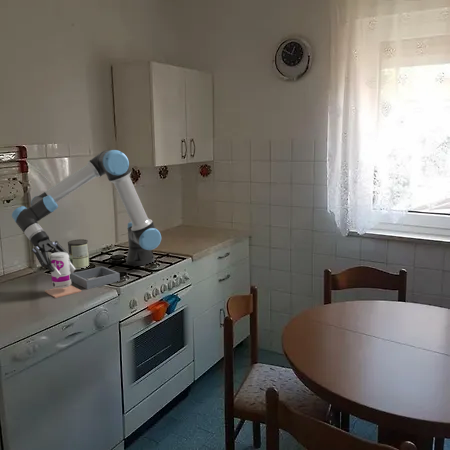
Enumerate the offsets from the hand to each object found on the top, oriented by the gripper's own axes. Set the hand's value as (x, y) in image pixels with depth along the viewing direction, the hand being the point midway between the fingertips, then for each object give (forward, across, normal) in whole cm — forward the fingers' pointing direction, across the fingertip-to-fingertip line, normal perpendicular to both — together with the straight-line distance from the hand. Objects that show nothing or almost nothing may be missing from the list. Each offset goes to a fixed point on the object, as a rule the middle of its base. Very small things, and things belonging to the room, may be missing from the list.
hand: (66, 273), depth 212 cm
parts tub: (+6, -18, -6) cm, 20 cm away
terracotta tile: (+4, 0, -9) cm, 9 cm away
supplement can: (+2, 0, -7) cm, 7 cm away
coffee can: (-12, -35, -25) cm, 44 cm away
